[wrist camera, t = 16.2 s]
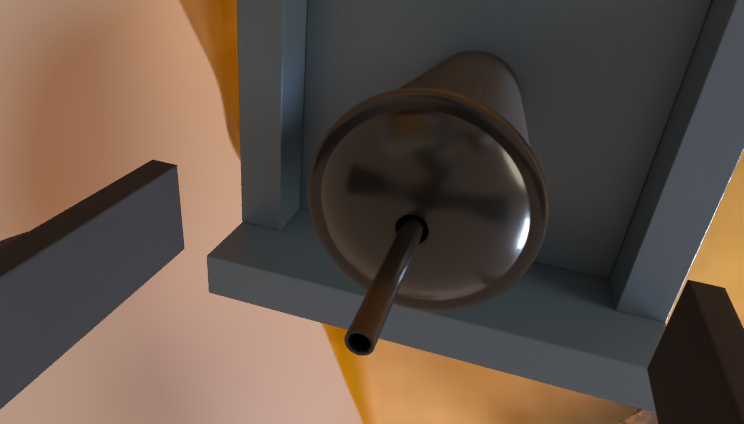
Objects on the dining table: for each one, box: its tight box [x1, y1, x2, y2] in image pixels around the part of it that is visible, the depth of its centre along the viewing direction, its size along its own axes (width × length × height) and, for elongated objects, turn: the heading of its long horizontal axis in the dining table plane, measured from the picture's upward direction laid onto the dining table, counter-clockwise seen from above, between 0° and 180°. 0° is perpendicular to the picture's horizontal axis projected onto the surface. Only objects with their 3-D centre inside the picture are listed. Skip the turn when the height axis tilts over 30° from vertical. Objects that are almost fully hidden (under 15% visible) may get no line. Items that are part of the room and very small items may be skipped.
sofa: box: [207, 0, 744, 413], centre depth 29 cm, size 19×24×13 cm
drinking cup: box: [307, 50, 548, 355], centre depth 20 cm, size 8×8×20 cm
